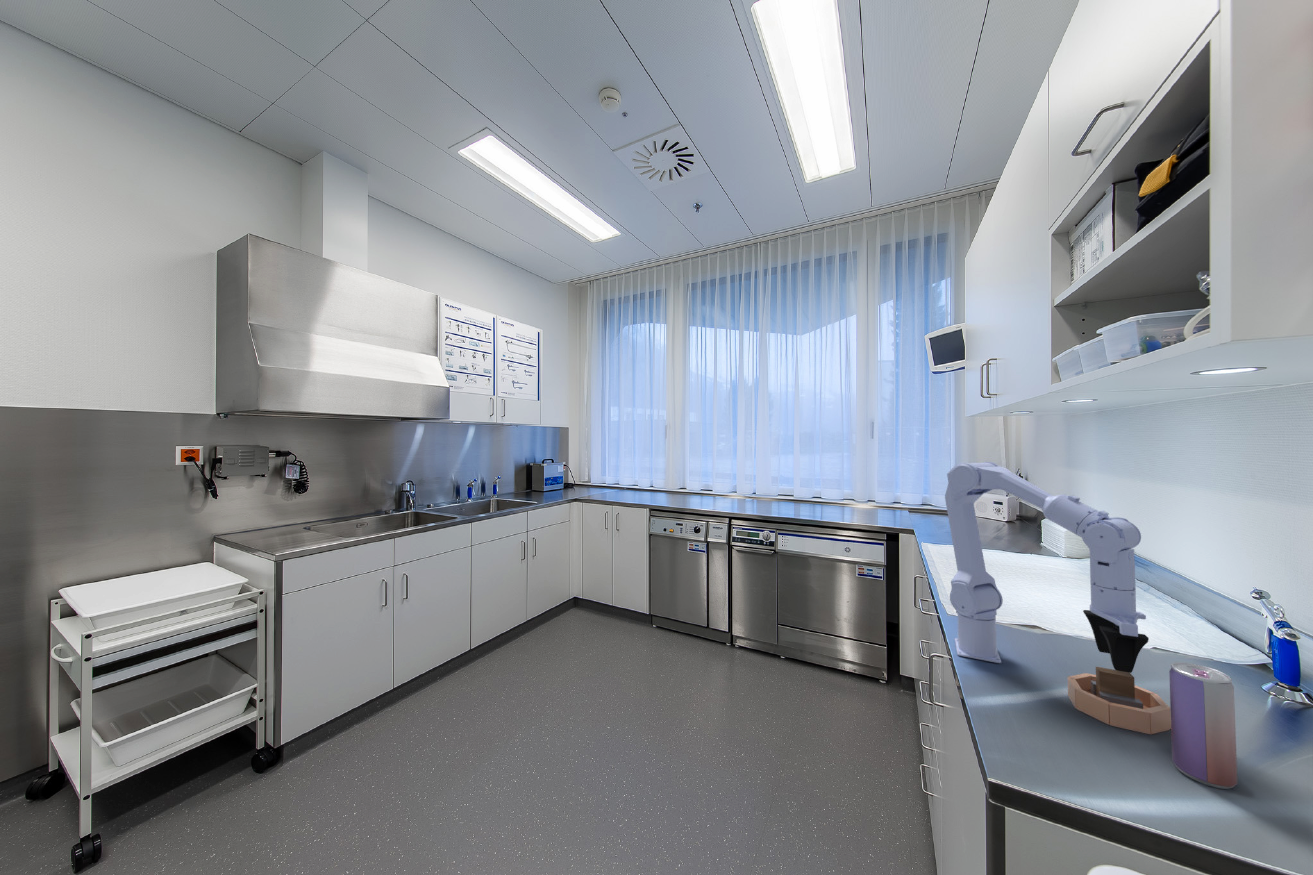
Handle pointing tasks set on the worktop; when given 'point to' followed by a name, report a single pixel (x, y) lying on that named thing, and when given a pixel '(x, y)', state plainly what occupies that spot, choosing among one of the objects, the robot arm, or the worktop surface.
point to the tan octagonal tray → (1120, 706)
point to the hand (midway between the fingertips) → (1114, 661)
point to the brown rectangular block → (1114, 682)
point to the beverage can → (1203, 724)
